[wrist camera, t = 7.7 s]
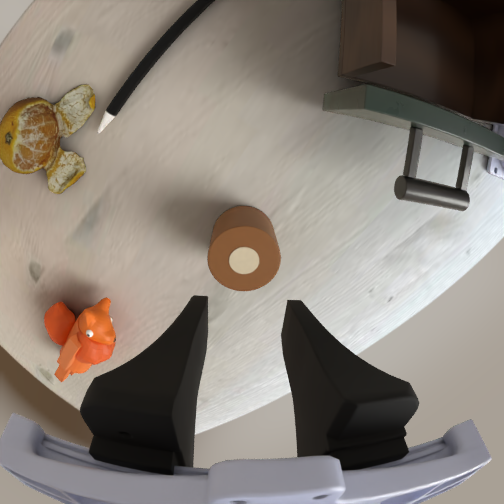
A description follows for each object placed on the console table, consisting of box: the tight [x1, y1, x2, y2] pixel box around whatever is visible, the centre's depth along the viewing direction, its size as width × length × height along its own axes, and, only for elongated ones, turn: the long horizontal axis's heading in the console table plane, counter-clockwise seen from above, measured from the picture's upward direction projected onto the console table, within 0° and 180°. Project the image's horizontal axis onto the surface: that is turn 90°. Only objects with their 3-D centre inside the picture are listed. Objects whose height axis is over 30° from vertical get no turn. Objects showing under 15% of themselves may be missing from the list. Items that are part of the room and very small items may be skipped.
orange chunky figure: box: [44, 297, 116, 382], centre depth 23 cm, size 5×8×12 cm
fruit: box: [0, 84, 95, 194], centre depth 15 cm, size 8×8×4 cm
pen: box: [97, 0, 215, 134], centre depth 14 cm, size 1×19×1 cm, turn 140°
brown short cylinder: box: [208, 206, 281, 291], centre depth 20 cm, size 4×4×4 cm
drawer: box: [323, 0, 504, 211], centre depth 13 cm, size 17×13×7 cm
